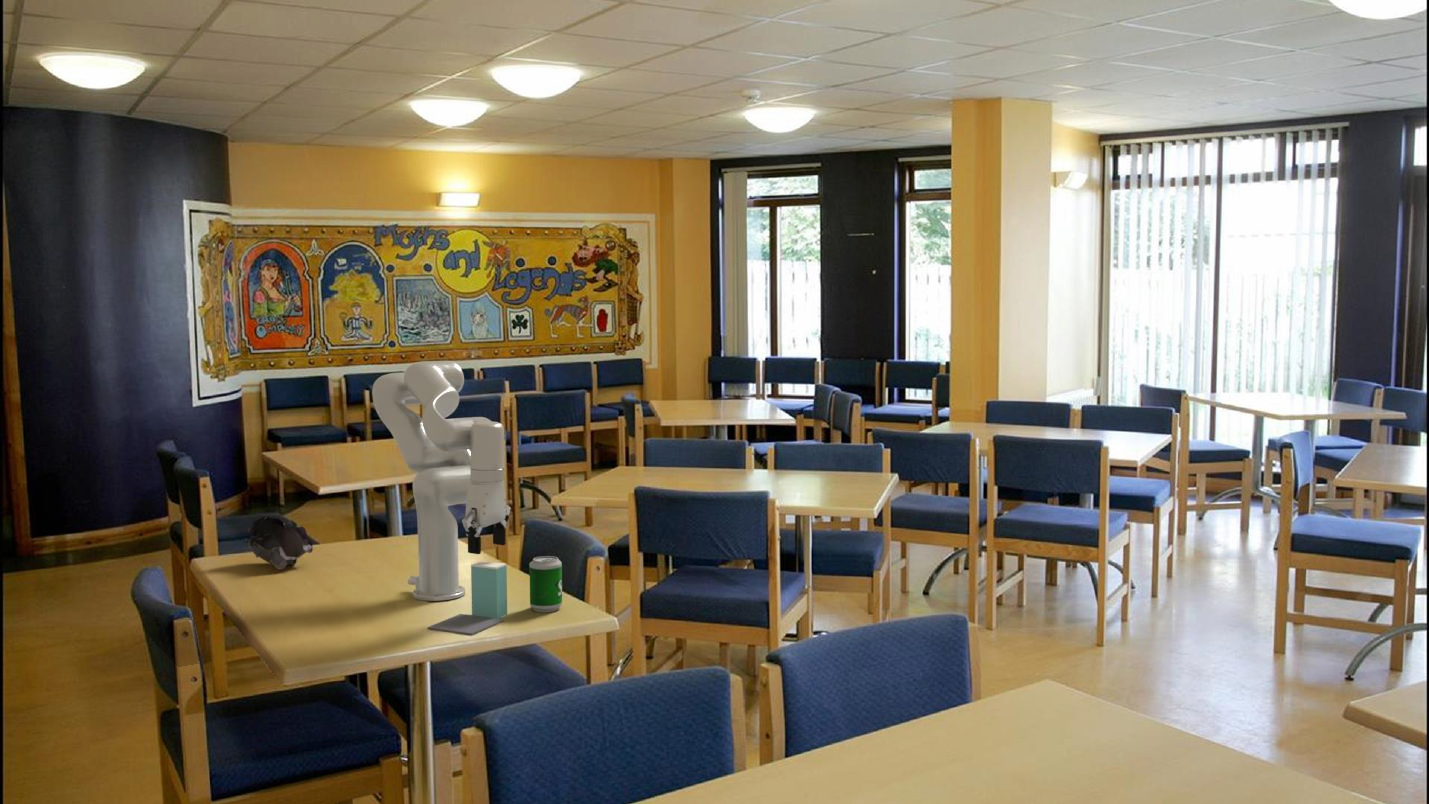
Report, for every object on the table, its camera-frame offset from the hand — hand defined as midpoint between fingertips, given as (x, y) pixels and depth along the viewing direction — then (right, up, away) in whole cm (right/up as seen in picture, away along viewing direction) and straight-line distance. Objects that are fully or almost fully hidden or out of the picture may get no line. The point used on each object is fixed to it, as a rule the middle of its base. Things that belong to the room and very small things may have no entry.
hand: (487, 548), depth 262 cm
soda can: (+13, -15, +6) cm, 21 cm away
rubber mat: (-3, -16, -7) cm, 18 cm away
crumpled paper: (-68, -11, +51) cm, 86 cm away
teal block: (0, -16, +1) cm, 15 cm away
